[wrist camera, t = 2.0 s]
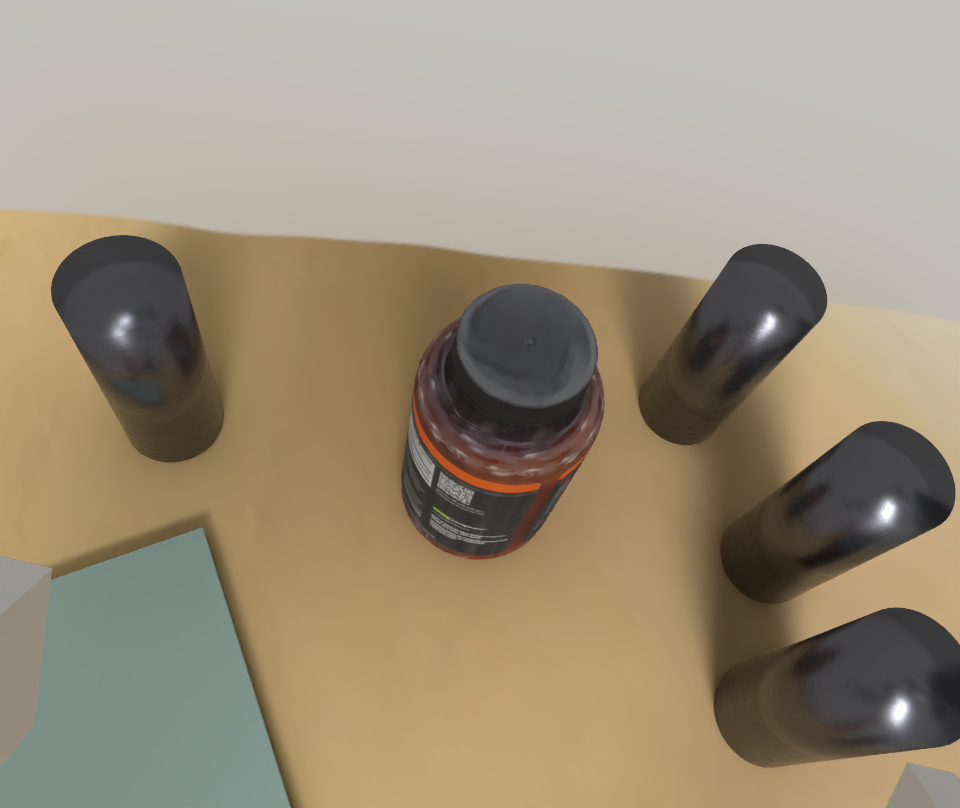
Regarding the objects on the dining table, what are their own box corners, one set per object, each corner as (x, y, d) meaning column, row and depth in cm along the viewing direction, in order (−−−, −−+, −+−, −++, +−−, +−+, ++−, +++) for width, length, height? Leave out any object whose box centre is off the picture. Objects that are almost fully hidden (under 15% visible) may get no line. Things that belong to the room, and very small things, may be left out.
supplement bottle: (545, 427, 34) (629, 262, 24) (551, 567, 31) (648, 448, 21) (401, 418, 33) (426, 244, 23) (395, 561, 30) (419, 433, 20)
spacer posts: (623, 249, 39) (694, 102, 31) (899, 700, 31) (1094, 658, 23) (115, 395, 31) (39, 252, 24) (301, 1036, 23) (279, 1147, 15)
